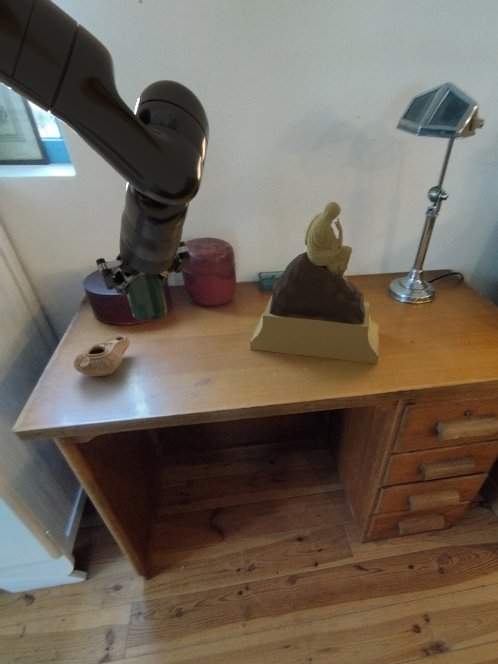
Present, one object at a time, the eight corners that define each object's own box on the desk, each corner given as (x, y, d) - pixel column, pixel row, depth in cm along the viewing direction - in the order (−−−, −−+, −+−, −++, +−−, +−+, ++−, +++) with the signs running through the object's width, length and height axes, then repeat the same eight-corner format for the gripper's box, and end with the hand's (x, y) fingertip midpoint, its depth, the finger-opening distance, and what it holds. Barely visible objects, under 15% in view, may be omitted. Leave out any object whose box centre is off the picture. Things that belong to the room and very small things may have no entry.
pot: (134, 323, 66) (117, 266, 59) (131, 307, 70) (115, 252, 63) (170, 317, 67) (157, 261, 61) (165, 302, 71) (153, 248, 65)
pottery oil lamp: (146, 351, 82) (140, 335, 76) (109, 395, 77) (99, 381, 71) (111, 331, 82) (102, 312, 76) (72, 373, 78) (59, 357, 71)
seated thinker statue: (377, 332, 92) (403, 195, 72) (377, 363, 82) (407, 215, 62) (263, 320, 94) (258, 184, 74) (250, 349, 85) (240, 202, 65)
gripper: (188, 201, 55) (170, 256, 70) (82, 217, 48) (87, 275, 63) (210, 249, 55) (188, 294, 70) (108, 272, 49) (107, 316, 63)
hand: (140, 285), depth 66 cm, fingers closed on pot, 6 cm apart
